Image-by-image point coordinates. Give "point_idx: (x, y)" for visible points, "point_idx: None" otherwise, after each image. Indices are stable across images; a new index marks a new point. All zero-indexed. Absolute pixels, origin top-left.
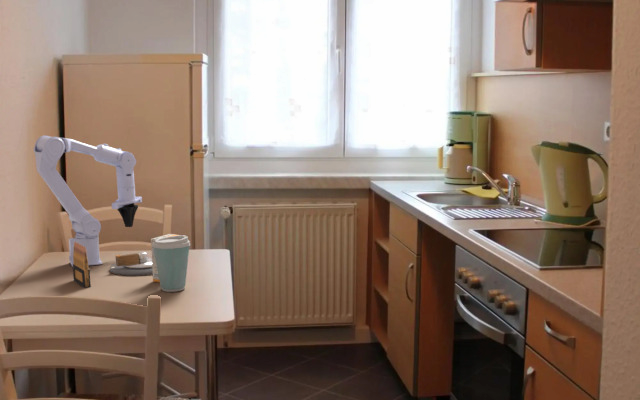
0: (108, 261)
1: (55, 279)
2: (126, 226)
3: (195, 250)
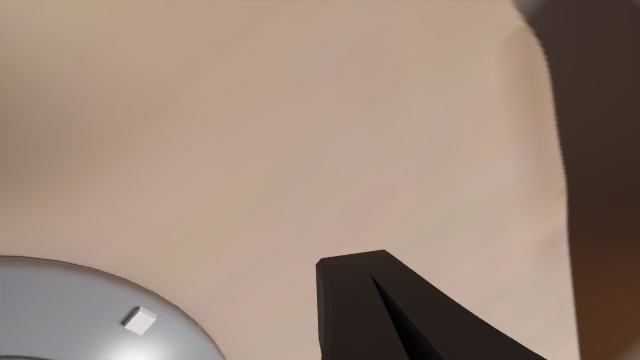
0: (31, 68)
1: None
2: (319, 286)
3: (562, 349)
